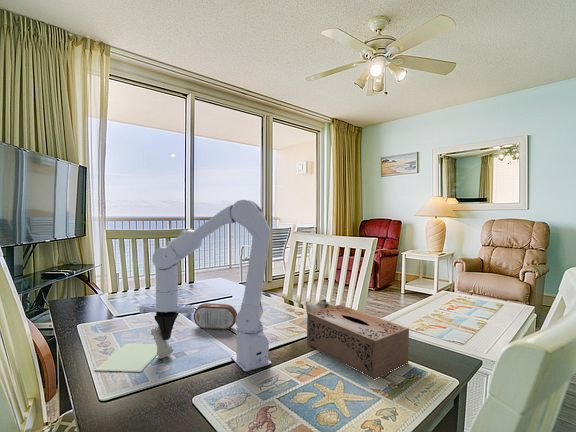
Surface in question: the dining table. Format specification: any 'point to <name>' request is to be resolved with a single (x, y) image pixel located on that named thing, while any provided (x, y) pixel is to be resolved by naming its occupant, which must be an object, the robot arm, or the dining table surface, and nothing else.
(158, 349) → the rook chess piece
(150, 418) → the dining table surface
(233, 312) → the tin
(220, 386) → the dining table surface
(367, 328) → the tissue box cover
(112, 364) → the mat
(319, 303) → the ceramic sculpture
